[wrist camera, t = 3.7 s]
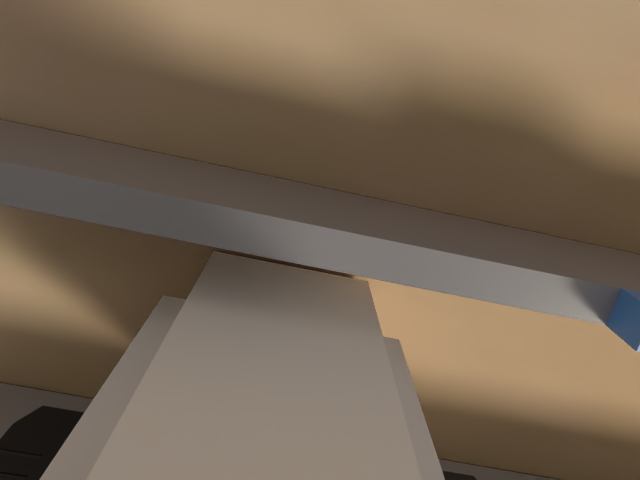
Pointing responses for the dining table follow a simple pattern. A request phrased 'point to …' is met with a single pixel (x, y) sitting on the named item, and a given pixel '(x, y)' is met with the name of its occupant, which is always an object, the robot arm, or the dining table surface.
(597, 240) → the dining table surface
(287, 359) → the block
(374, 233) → the grey upright slats
